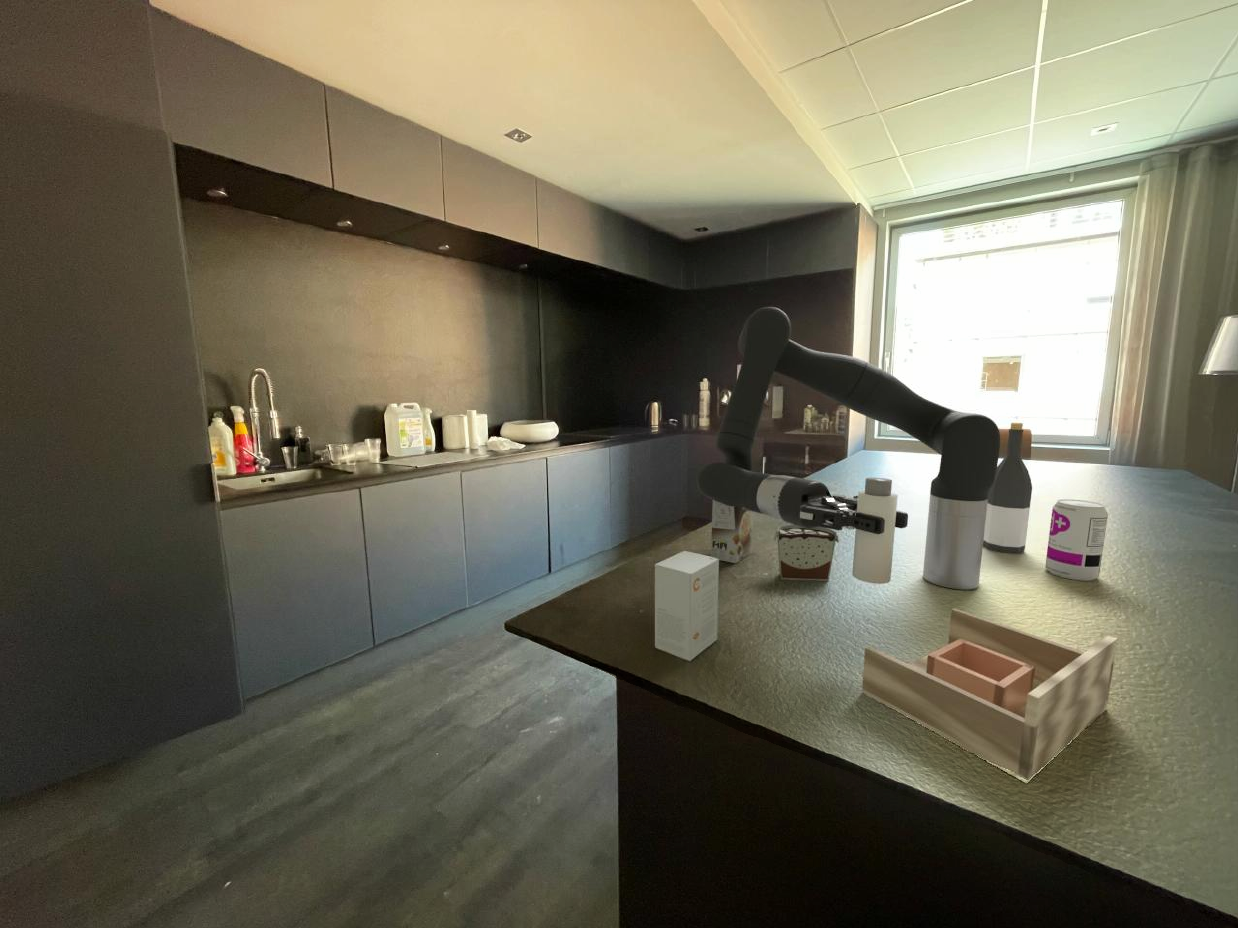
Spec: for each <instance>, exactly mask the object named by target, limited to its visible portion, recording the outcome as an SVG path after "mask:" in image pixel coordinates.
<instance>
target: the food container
mask: <svg viewBox="0 0 1238 928" xmlns="http://www.w3.org/2000/svg"><path fill="white" fill-rule="evenodd" d="M837 533H838V531H836V530H834V529H829V528H824V527H816V528H812V529H810V528H805V527H801V526H798V525H794V524H791V523H789V524H784V525H781V526H779V527H777V530H776V531H775V534H774V538H773V540H774V542H776V541H777V549H778V550H777V552H778V566H779V579H780V580H792V581H793V580H794V581H795V580H796V581H822V582H824V581H827V582H828V581H830V576H831V575H830V574H831V569H832V563H833V557H834V553H835V546H836V543H838V544H839V542H840V541H839V540H840V539H839V535H838V534H837Z"/></svg>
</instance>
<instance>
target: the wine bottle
mask: <svg viewBox="0 0 1238 928" xmlns="http://www.w3.org/2000/svg"><path fill="white" fill-rule="evenodd" d="M1023 424H1024V423H1023V422H1011V423H1010V428H1009V429H1008V440H1007V450H1006V455H1005V457H1004V458H1003V459H1002V461H1001V462H1000V463H998V464H997V470H996V476H995V481H994V483H993V485H992V487H991V489H990V490H989V494H988V502H987V512H986V522H985V531H984V541H983V548H986V549H987V550H991V551H995V552H999V553H1003V554H1005V553H1006V554H1018V555H1019V554H1021V553H1024V552H1025V549H1026V541H1027V534H1028V527H1029V518H1030V510H1031V503H1032V502H1031V500H1032V493H1033V484H1032V479H1031V476H1030V474H1029V470H1028V468H1027V467H1026V464H1025V463H1024V461H1023V459H1022V457H1021V452H1022V451H1021V450H1022V441H1023V433H1024V428H1023Z"/></svg>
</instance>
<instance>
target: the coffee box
mask: <svg viewBox="0 0 1238 928" xmlns="http://www.w3.org/2000/svg"><path fill="white" fill-rule="evenodd" d="M711 507H712V508H711V510H712V511H711V514H712V515H711V538H710V539H711V542H710V557H713V558H717V559H719V561H722V562H723V561H724V562H728V563H731V564H737V563H739V562H740V561H742V560H743V559H745V558H746V557H748V556H750V555H751V554H752V547H753V546H752V542H753V520H754V512H753V511H750V510H748V509H746V508H743V507H741V506H739V505H738V506H733V507H732V506H727V505H724V504H722V503H720V502H717V501H715V500H713V499H712V506H711Z"/></svg>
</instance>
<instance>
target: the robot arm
mask: <svg viewBox="0 0 1238 928" xmlns="http://www.w3.org/2000/svg"><path fill="white" fill-rule="evenodd" d="M791 335H792V323H791V320H790V318H789V316H788V315H787V314H786V313H785V311H783V310H781V309H780V308H777V307H775V306H774V307H773V306H766V307H761V308H759V309H756V311H754V312H753V313H751V315H750V316H749V317H748V318H747V319H746V321H745V323H744V325H743V328H742V330H741V332H740V335H739V338H738V342H737V345H738V350H739V352H740V354H741V356H742V361H741V364H740V368H739V372H738V375H737V379H736V380H735V385H734V387H733V390H732V392H731V394H730V396H729V400H728V402H727V404H726V408H725V411H724V414H723V416H722V420H721V423H720V427H719V431H718V435H717V437H716V442H715V447H716V449H717V451H718V452H719V453H720V454H721V455H722V456H723V457H724V460H725V461H724V462H721V461H712V462H709V463H706V464H705V465H703V466H702V467H701V468H700V469H699V471H698V472H697V474H696V478H695V479H696V481H695V482H696V486H697V490H698V491H699V492H700V493H701V495H703V496H704V497H707V498H709V499H710V500H712V501H713V500H715V501H717V502H720V503H722V504H724V505H727V506H732V507H733V506H738V505H739V506H741V507H743V508H746V509H748V510H750V511H753V513H757V514H761V515H765V516H768V517H770V518H772V519H774V520H777V521H779V522H780V521H781V522H784V523H787V524H794V525H798V526H801V527H805V528H810V529H812V528H816V527H824V528H828V529H831V530H833V531H842V530H843V528H844V529H846V530H849V531H850V530H856V529H859V530H863V531H867V532H870V533H874V534H882V533H883V532H884V526H885V520H884V519H883V518H882V517H878V516H873V515H869V514H864V513H860V512H858V513H857V503H858V495H853V497H847V496H846V495H842V494H831V493H830V491H829V488H828V487H827V486H826V484H824V483H823V482H821V481H817V480H812V479H807V478H806V479H805V478H801V477H794V476H790V475H782V474H781V475H777V474H771V473H770V474H769V473H765V472H759V471H757V472H756V471H753V447H754V445H755V444H754V443H755V440H756V437H757V433H758V430H759V426H760V421H761V418H762V414H763V411H764V407H765V402H766V398H767V395H768V394H767V393H768V390H769V388H770V384H771V382H772V378H773V375H774V373H776V374H778V375H781V376H784V377H787V378H788V379H791V380H794V381H796V382H798V383H799V384H801V385H803V386H805V387H807V388H808V389H810V390H813V391H815V392H817V393H819V394H820V395H823V396H824V397H827V398H829V399H830V400H832V401H834V402H836V403H838V404H840V405H842V406H844V407H846V408H848V409H849V410H852V411H853V412H856V413H858V414H860V415H863V416H865V417H866V418H867V417H868V418H869V419H872V420H874V421H877V422H879V423H882V424H885V425H887V426H892V427H893V428H896V429H898V430H900V431H903V432H904V433H906V434H908V435H910V436H911V437H913V438H915V440H918V441H919V442H921V443H922V444H924V445H926V446H927V447H928V448H930V449H932V450H933V451H934V452H936V453H937V454H939V455H941V457H940V463H939V471H938V473H937V475H936V477H935V478H933V479H932V480H931V481H930V482H931V483H930V492H929V494H930V495H929V502H928V513H927V514H928V516H927V525H926V526H927V528H926V536H925V537H926V538H925V547H924V548H925V549H924V558H923V559H924V560H923V568H922V569H923V570H922V577H923V579H924V580H926V581H927V582H929V583H932V584H934V585H937V586H939V587H944V588H949V589H954V590H963V591H964V590H965V591H966V590H967V591H968V590H974V589H978V588H979V585H980V577H981V576H980V575H981V569H982V568H981V567H982V559H983V549H984V546H983V541H984V531H985V522H986V512H987V502H988V494H989V490H990V489H991V487H992V485H993V483H994V481H995V476H996V470H997V466H998V465H999V463H998V462H999V456H1000V450H1001V433H1000V428H999V427H998V425H997V424H996V423H995V421H994V420H993V419H991V418H990V417H989V416H986V415H984V414H980V413H972V412H962V411H958V410H955V409H951V408H948V407H946V406H943V405H941V404H938V403H935V402H934V401H930V400H929V399H926V398H924V397H922V396H920V395H919V394H917V393H916V392H914V391H913V390H912V389H911V388H910V387H908V386H907V385H906V384H905V383H903V382H902V381H901V380H899V379H898V378H897V377H895V376H894V375H892V374H891V373H889V372H887V371H885V370H884V369H882V368H880V367H877V365H873V364H872V363H870V362H867V361H865V360H862V359H860V358H857V357H855V356H851V355H845V354H840V353H832V352H823V351H818V350H814V349H811V348H808V347H805V346H803V345H801V344H799V343H798V342H795V341H794V340H791V339H790V338H791ZM908 514H909V513H907V512H906V511H903V510H902V511H901V510H897V509H896V521H895V528H897V529H905V528H907V527H908V520H909V515H908Z"/></svg>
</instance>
